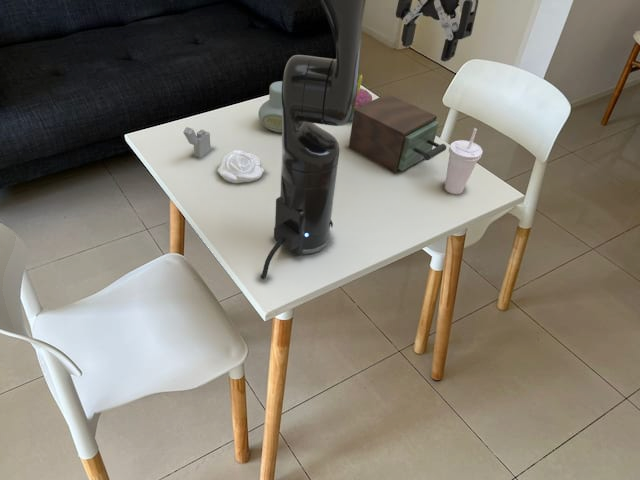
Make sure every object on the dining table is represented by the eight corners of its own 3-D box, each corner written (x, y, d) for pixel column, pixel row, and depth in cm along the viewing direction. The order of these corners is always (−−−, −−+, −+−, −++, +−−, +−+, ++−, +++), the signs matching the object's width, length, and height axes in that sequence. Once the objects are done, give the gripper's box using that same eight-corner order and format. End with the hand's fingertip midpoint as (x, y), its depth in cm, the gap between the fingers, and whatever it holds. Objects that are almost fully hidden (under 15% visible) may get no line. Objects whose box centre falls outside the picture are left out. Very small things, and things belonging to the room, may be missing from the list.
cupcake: (374, 123, 130) (382, 76, 121) (341, 126, 128) (347, 78, 120) (362, 107, 136) (369, 60, 127) (331, 109, 134) (336, 63, 126)
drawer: (447, 162, 116) (456, 130, 111) (418, 180, 111) (427, 147, 106) (387, 132, 125) (393, 101, 119) (358, 147, 120) (363, 115, 114)
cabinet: (427, 154, 120) (437, 115, 113) (395, 173, 114) (404, 133, 107) (380, 131, 127) (387, 93, 120) (348, 147, 121) (353, 108, 114)
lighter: (204, 147, 119) (202, 115, 114) (211, 149, 119) (208, 117, 113) (186, 162, 115) (182, 129, 109) (192, 164, 114) (189, 131, 109)
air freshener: (254, 130, 125) (253, 90, 119) (265, 114, 131) (265, 75, 124) (298, 138, 123) (300, 98, 116) (307, 122, 129) (310, 82, 122)
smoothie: (470, 199, 108) (491, 139, 98) (438, 195, 109) (456, 134, 99) (468, 182, 113) (488, 122, 103) (437, 178, 113) (454, 118, 104)
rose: (235, 137, 114) (273, 150, 111) (236, 154, 117) (272, 168, 114) (207, 157, 108) (245, 172, 105) (208, 175, 111) (246, 191, 108)
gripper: (501, -45, 82) (471, 60, 93) (426, -63, 89) (407, 36, 100) (473, -38, 78) (446, 71, 89) (398, -57, 85) (381, 45, 96)
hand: (425, 52), depth 95 cm, fingers open, 8 cm apart
